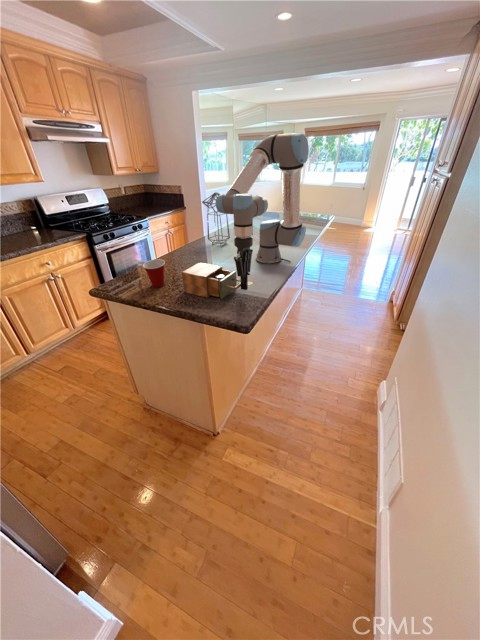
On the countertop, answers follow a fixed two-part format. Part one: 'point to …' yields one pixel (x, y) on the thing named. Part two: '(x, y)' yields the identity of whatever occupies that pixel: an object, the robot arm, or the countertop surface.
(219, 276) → the salt shaker
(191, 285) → the cabinet
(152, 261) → the plastic cup
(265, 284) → the countertop surface
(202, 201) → the geometric lantern
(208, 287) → the drawer
